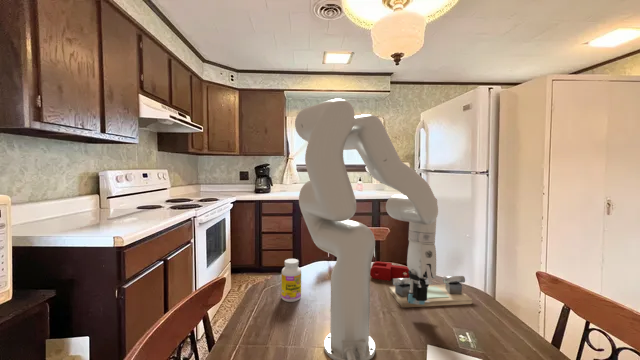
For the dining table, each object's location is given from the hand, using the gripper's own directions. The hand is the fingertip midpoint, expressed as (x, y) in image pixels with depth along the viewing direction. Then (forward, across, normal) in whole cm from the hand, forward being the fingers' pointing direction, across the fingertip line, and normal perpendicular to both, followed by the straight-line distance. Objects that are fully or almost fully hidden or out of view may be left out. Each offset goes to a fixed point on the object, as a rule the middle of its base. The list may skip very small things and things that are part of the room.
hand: (418, 296), depth 85 cm
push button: (+2, 0, 0) cm, 2 cm away
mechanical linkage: (+5, +29, -3) cm, 30 cm away
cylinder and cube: (+4, +11, -9) cm, 15 cm away
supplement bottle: (+7, +15, +37) cm, 41 cm away
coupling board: (+5, +11, -10) cm, 16 cm away
